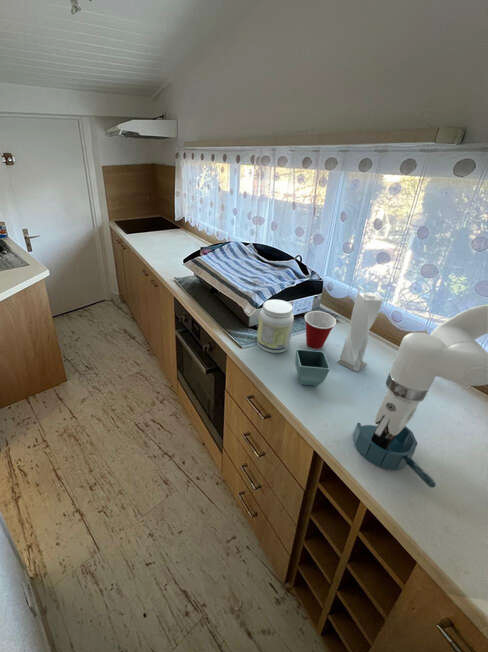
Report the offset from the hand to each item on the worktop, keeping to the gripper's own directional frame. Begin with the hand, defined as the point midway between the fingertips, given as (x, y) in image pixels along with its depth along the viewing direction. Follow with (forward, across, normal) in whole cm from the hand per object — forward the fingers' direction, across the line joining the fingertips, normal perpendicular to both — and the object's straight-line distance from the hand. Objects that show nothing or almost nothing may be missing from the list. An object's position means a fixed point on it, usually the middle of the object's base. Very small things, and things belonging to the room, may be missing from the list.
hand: (382, 439), depth 76 cm
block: (0, 0, 0) cm, 0 cm away
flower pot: (+3, +6, +26) cm, 27 cm away
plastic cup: (+3, +25, +36) cm, 44 cm away
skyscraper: (+3, +26, +23) cm, 35 cm away
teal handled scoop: (+3, -1, -3) cm, 4 cm away
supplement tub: (+3, +13, +46) cm, 48 cm away
